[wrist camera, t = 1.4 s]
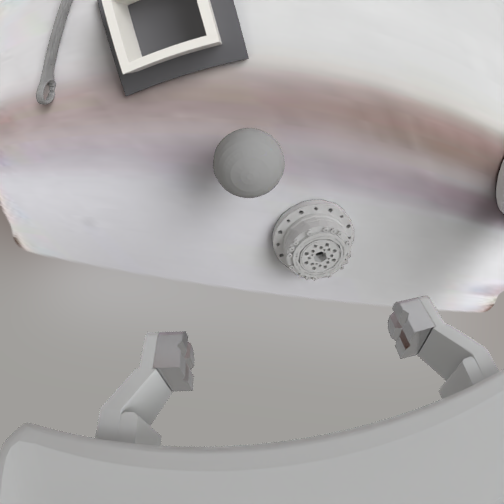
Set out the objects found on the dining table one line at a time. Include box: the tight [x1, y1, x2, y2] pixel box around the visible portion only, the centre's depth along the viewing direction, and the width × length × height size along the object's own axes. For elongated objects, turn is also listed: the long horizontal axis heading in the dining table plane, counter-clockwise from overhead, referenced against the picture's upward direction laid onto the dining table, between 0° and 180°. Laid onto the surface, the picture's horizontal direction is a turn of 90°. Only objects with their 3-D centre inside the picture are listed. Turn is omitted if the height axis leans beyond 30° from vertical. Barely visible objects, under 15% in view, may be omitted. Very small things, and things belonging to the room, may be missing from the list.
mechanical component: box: [272, 200, 354, 281], centre depth 34 cm, size 10×4×10 cm
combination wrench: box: [36, 0, 72, 104], centre depth 16 cm, size 4×1×20 cm
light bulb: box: [213, 128, 285, 198], centre depth 24 cm, size 6×6×10 cm
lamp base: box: [98, 0, 248, 96], centre depth 18 cm, size 12×12×5 cm
